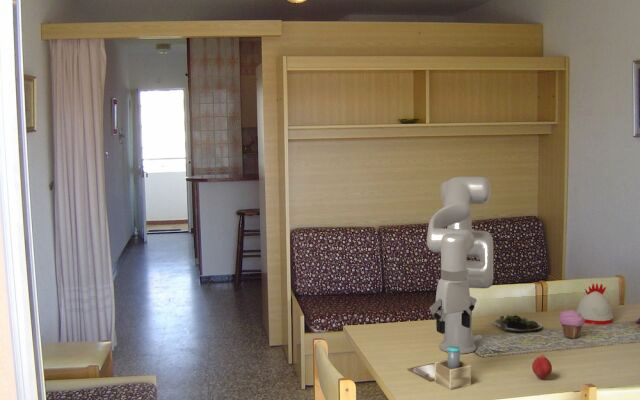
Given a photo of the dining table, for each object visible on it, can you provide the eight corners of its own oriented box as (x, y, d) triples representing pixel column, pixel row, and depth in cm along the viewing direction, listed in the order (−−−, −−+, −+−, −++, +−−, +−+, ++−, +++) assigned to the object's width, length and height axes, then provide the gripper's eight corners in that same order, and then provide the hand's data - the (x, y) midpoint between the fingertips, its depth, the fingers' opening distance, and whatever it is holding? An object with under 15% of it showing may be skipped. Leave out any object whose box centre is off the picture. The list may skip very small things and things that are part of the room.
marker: (454, 378, 205) (454, 345, 204) (462, 382, 202) (462, 348, 201) (444, 380, 204) (444, 347, 203) (452, 384, 200) (452, 351, 199)
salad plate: (482, 321, 270) (482, 310, 269) (522, 318, 273) (523, 307, 273) (505, 335, 251) (505, 323, 250) (548, 332, 255) (548, 320, 254)
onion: (528, 376, 208) (529, 351, 207) (546, 375, 209) (547, 350, 208) (536, 382, 203) (537, 357, 202) (554, 382, 203) (555, 356, 202)
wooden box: (454, 377, 208) (454, 358, 208) (470, 385, 201) (471, 365, 201) (434, 381, 204) (434, 362, 204) (450, 390, 198) (451, 370, 197)
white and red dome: (618, 324, 262) (619, 287, 261) (583, 325, 263) (584, 287, 261) (604, 315, 276) (605, 279, 275) (570, 315, 276) (571, 280, 275)
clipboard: (446, 361, 223) (446, 357, 222) (470, 372, 212) (470, 368, 212) (407, 369, 215) (407, 366, 215) (430, 381, 204) (430, 377, 204)
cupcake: (576, 342, 241) (577, 315, 240) (554, 336, 248) (554, 310, 247) (588, 336, 247) (589, 310, 246) (566, 331, 254) (567, 306, 253)
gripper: (467, 268, 207) (467, 321, 210) (422, 276, 199) (422, 331, 201) (484, 273, 201) (483, 327, 203) (438, 282, 192) (438, 338, 195)
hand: (453, 329), depth 202 cm, fingers open, 9 cm apart
